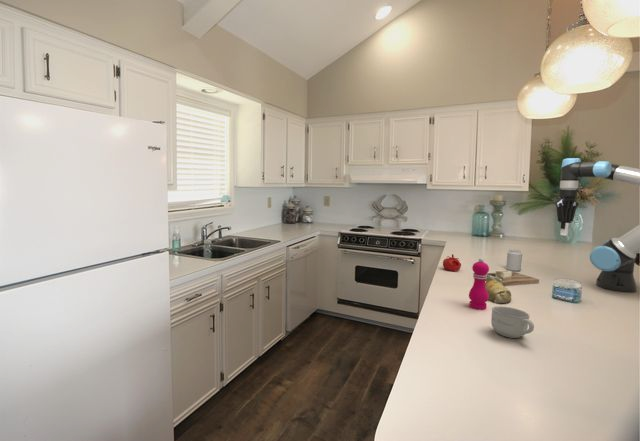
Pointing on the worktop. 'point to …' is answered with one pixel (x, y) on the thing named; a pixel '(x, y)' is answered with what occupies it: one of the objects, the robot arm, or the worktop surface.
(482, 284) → the pepper mill
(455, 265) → the pomegranate
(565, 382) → the worktop surface
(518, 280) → the board
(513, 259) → the can
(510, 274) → the birch block
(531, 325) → the teacup
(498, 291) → the pastry
